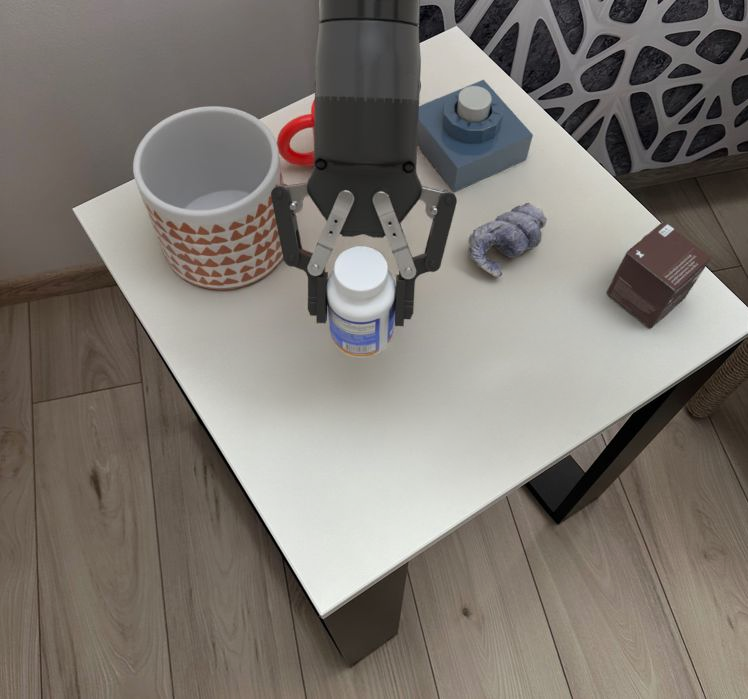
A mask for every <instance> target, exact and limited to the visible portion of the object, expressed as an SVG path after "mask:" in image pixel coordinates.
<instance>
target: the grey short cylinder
mask: <svg viewBox="0 0 748 699" xmlns="http://www.w3.org/2000/svg"><path fill="white" fill-rule="evenodd" d="M468 86H469V85H468ZM465 87H466V88H464V87H463V88H464V89H463V90H462V91H461V92H460V93H459V97H458V104H457V114H458V116H459V117H460V118H461V119H462V120H465V121H467V122H469V123H479V122H482V121H484V120H485V119H486V118H487V117H488V115H489V111H490V106H491V100H492V98H491V95H490V93H489V92H488V91H487V90H486V89H484V88H482V87H479V86H469V87H467V86H465Z"/></svg>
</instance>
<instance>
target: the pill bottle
mask: <svg viewBox="0 0 748 699" xmlns="http://www.w3.org/2000/svg"><path fill="white" fill-rule="evenodd" d="M326 295H327V304H328V306H327V316H328V324H329V326H328V327H329V333H330V337H331V340H332V342H333V343H334V345H335V346H336V348H337V349H338V350H339V351H340V352H342V353H343V354H345V355H347V356H349V357H352V358H359V359H364V358H370V357H374V356H376V355H378V354H380V353H381V352H383V351H384V350H385V349H387V347H388V346H389V345H390V343H391V341H392V339H393V336H394V331H395V302H396V280H395V278H394V276H393V274H392V272H391V270H389V267H388V262H387V260H386V258H385V257H384V255H383V254H382V253H381V252H379V251H378V250H376V249H375V248H372V247H369V246H364V245H363V246H362V245H358V246H352V247H349V248H347V249H345V250H343V251H342V252H341V253H340V254H338V256H337V258H336V260H335V262H334V264H333V270H332V271H331V273H330V274H329V275H328V281H327V285H326Z"/></svg>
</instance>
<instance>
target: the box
mask: <svg viewBox="0 0 748 699" xmlns="http://www.w3.org/2000/svg"><path fill="white" fill-rule="evenodd" d="M711 260H712V256H711V255H710V254H708V252H706V251H705V250H703V249H702V248H701V247H699V246H697V244H695V243H693V241H691V240H690V239H689V238H687V237H686V236H684V235H683V234H681V233H680V232H679V231H677V229H675V228H674V227H673V226H671V225H669V224H668V223H667V222H665V221H662V222H660V223H659V224H658V225H656V226H655V228H653V229H652V230H651V231H650V232H649V233H647V234H645V235H644V236H643V237H641V239H640V240H639V241H638V242H637V243H635V244H634V245H633V246H631V248H630V249H628V250H627V251H626V252H625V254H624V256H623V258H622V260H621V262H620V264H619V266H618V268H617V270H616V272H615V273H614V276H613V279H612V280H611V282H610V285H609V286H608V288H607V290H606V295H607V296H609V297H610V298H611V299H612V300H613V301H615V302H616V303H617V304H619V305H620V306H622V307H623V308H624V309H625V310H626V311H628V312H629V313H630V314H631V315H632V316H634V317H635V318H636V319H638V321H640V322H641V323H642V324H644V325H645V326H646V327H647V328H649V329H652V328H653V327H655V326H656V325H657V324H658V323H660V322H661V320H663V319H664V318H665V317H667V316H668V315H669V313H671V312H672V311H673V310H674V309H675V308H676V307H677V306H678V305H680V303H682V302H683V301H684V300H685V299H686V298H687V296H688V295H689V293H690V291H691V290H692V289H693V287H694V285H695V284H696V282H698V279H699V278H700V276H701V275H702V273H703V272H704V270H705V268H706V267H707V265H708V263H709V262H710V261H711Z"/></svg>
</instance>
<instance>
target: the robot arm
mask: <svg viewBox="0 0 748 699" xmlns="http://www.w3.org/2000/svg"><path fill="white" fill-rule="evenodd" d="M420 12H421V0H318V23H319V24H318V33H317V34H318V35H317V41H316V47H315V58H314V99H315V112H314V113H315V114H314V140H313V151H314V165H313V168H312V170H311V171H312V172H311V174H310V176H309V177H308V179H307V182H301V183H294V184H290V185H289V184H286V183H283V184H280V185H278V186H277V187H275V188H274V189H273V190H272V192H271V198H272V203H273V208H274V213H275V218H276V223H277V229H278V234H279V239H280V244H281V249H282V254H283V258H282V260H283V263H284V264H285V265H286V266H287V267H290V268H291V267H292V268H293V267H294V268H296V269H298V270H302V271H303V272H304V273H305V275H306V276H307V311H308V314H309V316H311V317H312V316H313V317H315V320H316V322H315V323H316V324H323V325H324V324H326V323H327V320H328V304H327V295H326V285H327V281H328V278H329V271H326V265H327V263H328V261H329V259H330V256H331V254H332V252H333V250H334V247H335V245H336V244H337V243H336V242H337V240H338V238H339V236H341V237H344V238H346V237H347V238H348V237H350V238H353V237H358V236H362V235H363V236H366V237H371V238H373V239H384V238H385V237H386V240H387V242H388V245H389V248H390V251H391V252H392V255H393V258H394V260H395V263H396V265H397V268H398V274H396V275H395V276H396V280H395V284H396V302H395V320H394V327H401V328H404V326H405V320H411V319H412V318H413V315H414V308H415V290H416V289H415V288H416V287H415V286H416V281H417V278H418V277H419V276H421V275H423V274H424V275H425V274H426V273H435V272H437V271H439V269H440V268H441V265H442V261H443V258H444V253H445V249H446V246H447V242H448V238H449V235H450V230H451V227H452V222H453V218H454V215H455V211H456V208H457V207H456V206H457V203H458V199H457V196H456V194H455V192H454V191H452V190H449V189H444V190H440V189H436V188H431V187H427V186H422V183H421V181H420V179H419V176H418V173H417V158H418V146H417V141H418V119H419V106H420V97H421V96H420V95H421V90H422V82H421V75H422V74H421V73H422V72H421V71H422V59H421V58H422V56H421V54H422V53H421V46H420V45H421V43H420V28H419V27H420ZM306 197H309V198H310V199H311V201H312V202H313V203H314V205H315V207H316V208H317V209H318V211H319V212H320V214H321V215H322V217H323V218H324V219H325V221H326V222H325V225H324V227H323V228H322V231H321V233H320V236H319V238H318V241H317V244H316V246H315V248H314V250H313V252H311V251H308V250H305V249H303V246H302V239H301V235H300V230H299V224H298V219H297V214H298V213H300V212H301V211H302V209H303V207H304V200H305V198H306ZM419 201H422V202H423V203H424V204H425V209H424V210H425V213H426V216H427V217H429V218H430V219H432V221H431V224H430V228H429V233H428V235H427V236H428V237H427V239H426V240H427V241H426V245H425V248H424V253H420V254H418V255H415V256H413V254H412V251H411V249H410V246H409V243H408V240H407V237H406V235H405V232H404V229H403V226H402V222H403V221H404V220H405V218H406V217H408V214H409V213H410V212H411V211H412V209H414V207H415V206H416V204H417V203H418V202H419Z"/></svg>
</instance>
